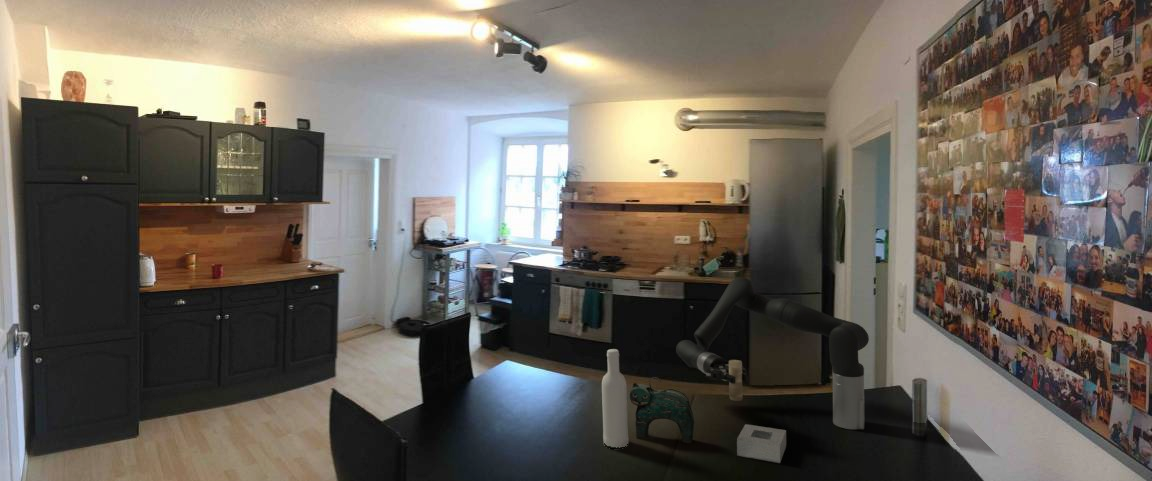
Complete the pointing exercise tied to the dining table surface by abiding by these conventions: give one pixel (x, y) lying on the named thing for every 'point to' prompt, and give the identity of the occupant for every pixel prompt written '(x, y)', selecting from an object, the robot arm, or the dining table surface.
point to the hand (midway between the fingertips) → (740, 379)
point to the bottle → (614, 403)
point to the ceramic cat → (661, 409)
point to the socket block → (761, 443)
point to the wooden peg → (736, 388)
